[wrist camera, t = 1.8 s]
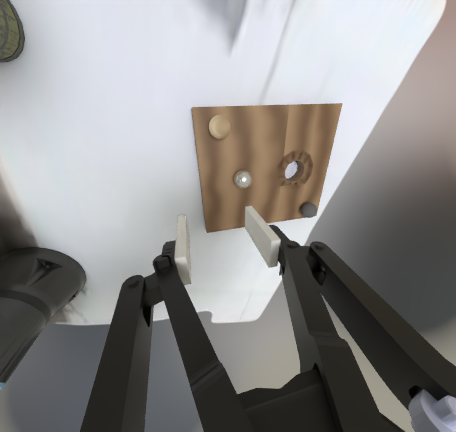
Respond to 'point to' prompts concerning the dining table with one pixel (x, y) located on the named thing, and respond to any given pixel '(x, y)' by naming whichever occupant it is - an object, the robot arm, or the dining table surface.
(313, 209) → the black rubber ball
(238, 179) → the steel ball
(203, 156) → the walnut plate
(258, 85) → the dining table surface
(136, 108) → the dining table surface
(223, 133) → the beech ball
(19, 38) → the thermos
